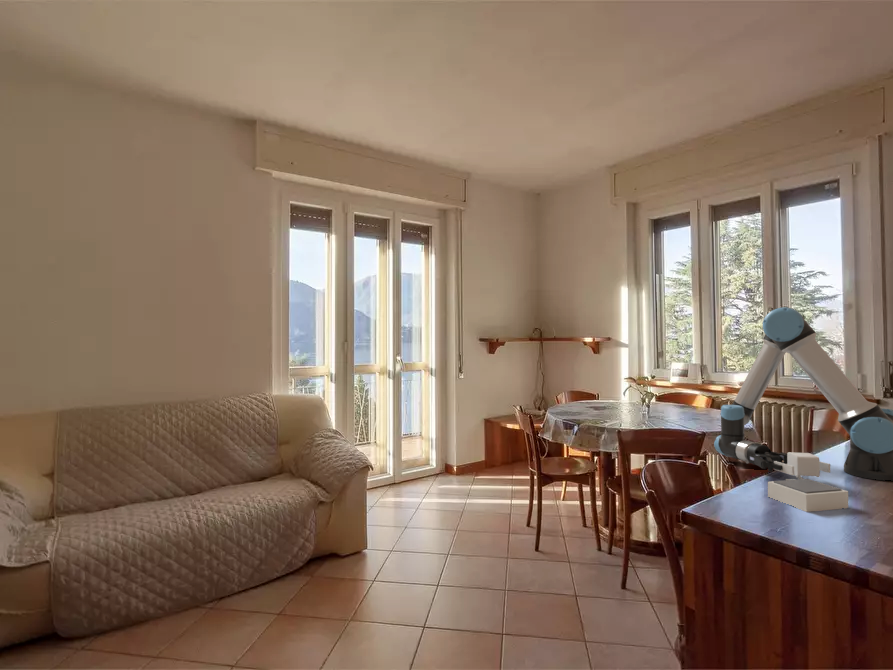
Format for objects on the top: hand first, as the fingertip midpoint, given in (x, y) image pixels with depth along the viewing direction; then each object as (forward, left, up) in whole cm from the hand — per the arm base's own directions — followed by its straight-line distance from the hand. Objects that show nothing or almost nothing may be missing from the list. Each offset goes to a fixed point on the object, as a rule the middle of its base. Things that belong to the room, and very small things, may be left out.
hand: (811, 469), depth 147 cm
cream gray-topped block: (+13, +10, -6) cm, 17 cm away
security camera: (0, -3, -6) cm, 7 cm away
